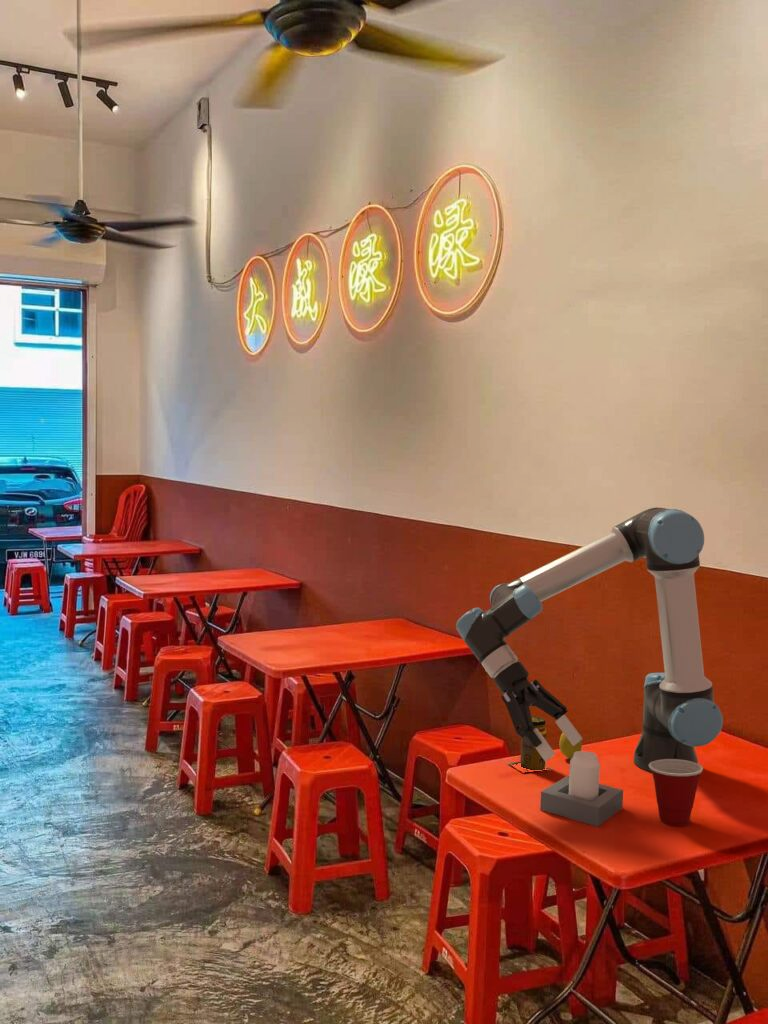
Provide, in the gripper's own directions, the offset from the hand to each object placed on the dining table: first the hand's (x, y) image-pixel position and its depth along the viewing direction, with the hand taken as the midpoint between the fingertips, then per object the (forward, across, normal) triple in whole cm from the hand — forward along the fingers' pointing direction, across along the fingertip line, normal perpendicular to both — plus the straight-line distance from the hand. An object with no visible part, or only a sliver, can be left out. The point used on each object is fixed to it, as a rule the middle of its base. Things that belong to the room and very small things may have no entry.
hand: (564, 750), depth 189 cm
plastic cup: (+24, -8, +6) cm, 26 cm away
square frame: (+12, 0, -6) cm, 13 cm away
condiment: (-3, -17, -20) cm, 27 cm away
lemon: (0, -29, -17) cm, 33 cm away
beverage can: (+12, 0, -6) cm, 13 cm away
